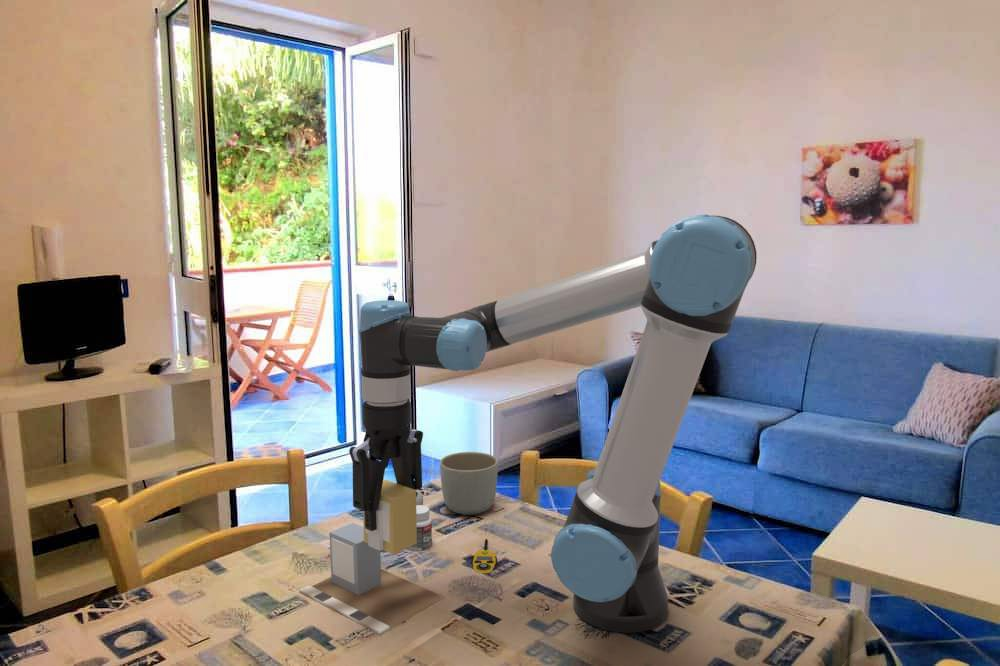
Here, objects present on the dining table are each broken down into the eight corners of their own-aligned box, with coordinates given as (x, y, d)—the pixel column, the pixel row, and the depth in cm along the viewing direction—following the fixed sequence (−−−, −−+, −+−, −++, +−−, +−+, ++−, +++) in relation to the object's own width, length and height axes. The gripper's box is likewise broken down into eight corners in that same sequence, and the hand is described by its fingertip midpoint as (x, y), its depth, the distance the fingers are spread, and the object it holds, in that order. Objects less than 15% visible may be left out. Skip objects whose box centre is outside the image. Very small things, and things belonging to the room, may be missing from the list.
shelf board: (444, 603, 121) (444, 594, 121) (380, 642, 110) (380, 631, 110) (364, 567, 133) (364, 558, 133) (299, 598, 123) (299, 589, 123)
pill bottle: (427, 557, 137) (427, 515, 136) (403, 555, 138) (402, 513, 137) (435, 546, 142) (434, 505, 140) (411, 544, 143) (410, 503, 141)
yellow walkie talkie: (469, 571, 129) (474, 534, 144) (469, 581, 129) (474, 543, 144) (496, 571, 129) (498, 534, 143) (496, 582, 129) (498, 543, 144)
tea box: (387, 531, 123) (386, 479, 121) (416, 543, 118) (415, 490, 117) (363, 541, 119) (361, 488, 117) (392, 554, 114) (391, 499, 113)
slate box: (354, 571, 130) (352, 522, 128) (381, 583, 125) (379, 533, 124) (330, 582, 126) (328, 532, 124) (357, 595, 121) (355, 544, 120)
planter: (474, 493, 168) (473, 448, 167) (509, 510, 159) (509, 461, 157) (429, 507, 161) (428, 459, 159) (464, 525, 151) (463, 475, 149)
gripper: (412, 386, 124) (414, 517, 128) (323, 408, 110) (329, 554, 114) (444, 393, 119) (446, 528, 123) (356, 417, 105) (361, 569, 109)
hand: (389, 540), depth 118 cm, fingers closed on tea box, 5 cm apart
